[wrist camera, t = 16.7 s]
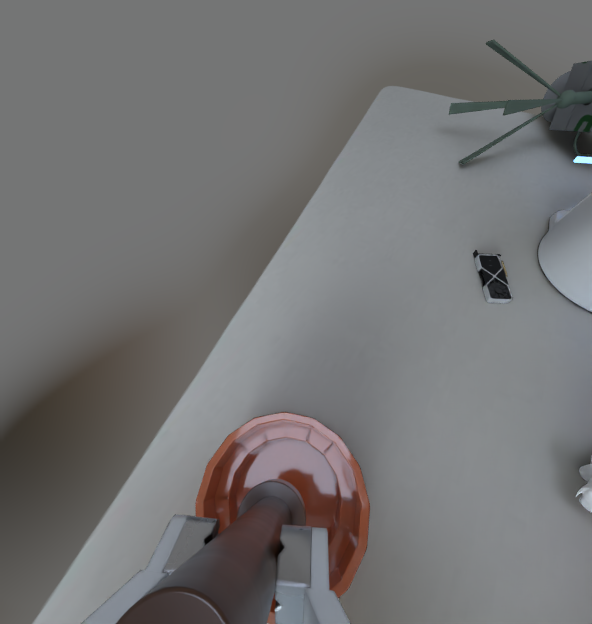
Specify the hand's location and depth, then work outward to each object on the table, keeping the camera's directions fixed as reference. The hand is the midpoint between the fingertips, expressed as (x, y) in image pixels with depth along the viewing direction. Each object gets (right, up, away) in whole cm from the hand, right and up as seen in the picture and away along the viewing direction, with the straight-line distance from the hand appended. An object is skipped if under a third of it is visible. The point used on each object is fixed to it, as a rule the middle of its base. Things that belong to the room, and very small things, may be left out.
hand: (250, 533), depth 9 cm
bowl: (+1, -9, +16) cm, 18 cm away
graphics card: (+24, +12, +25) cm, 37 cm away
